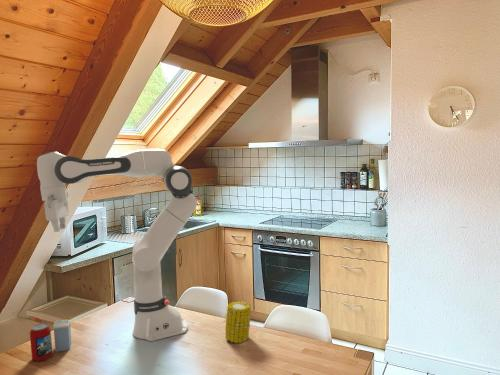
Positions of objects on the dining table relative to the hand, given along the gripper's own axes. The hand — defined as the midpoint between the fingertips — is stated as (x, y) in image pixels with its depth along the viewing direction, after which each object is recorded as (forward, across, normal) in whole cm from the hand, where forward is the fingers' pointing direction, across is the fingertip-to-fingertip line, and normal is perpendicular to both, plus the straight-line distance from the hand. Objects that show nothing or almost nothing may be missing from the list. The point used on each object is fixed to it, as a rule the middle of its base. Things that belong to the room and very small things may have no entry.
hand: (60, 230), depth 155 cm
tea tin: (+46, 0, +6) cm, 46 cm away
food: (+53, -11, -61) cm, 82 cm away
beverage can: (+46, -5, +12) cm, 47 cm away
